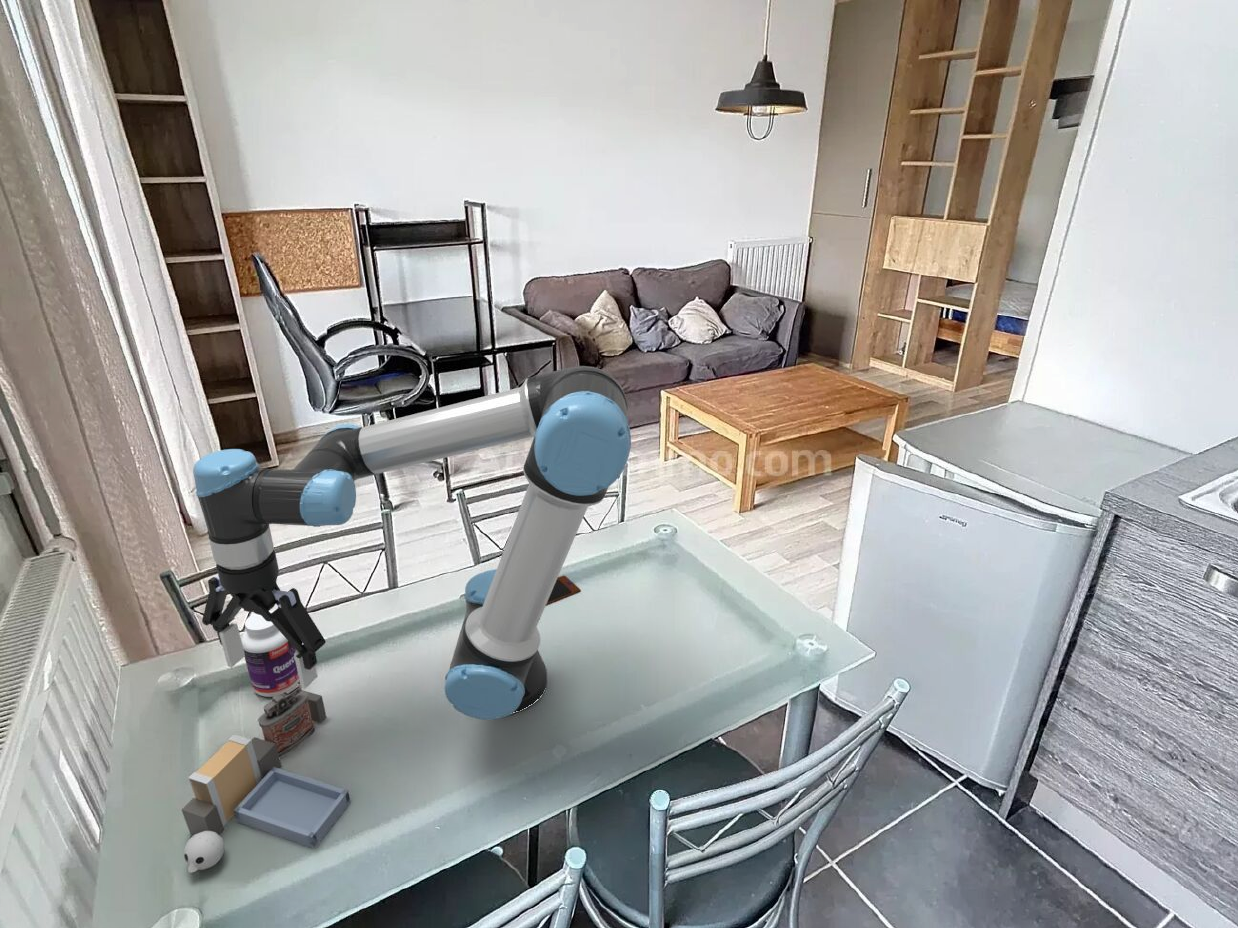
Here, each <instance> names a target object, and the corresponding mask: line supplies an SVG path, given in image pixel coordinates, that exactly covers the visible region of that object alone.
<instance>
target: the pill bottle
mask: <svg viewBox="0 0 1238 928" xmlns="http://www.w3.org/2000/svg"><path fill="white" fill-rule="evenodd" d="M274 611H275V610H274V609H271V610H269V612H270V613H272V612H274ZM244 628H245V631H244V632H243V634H242V635H241V637H240V638H241V641H242V645H243V649H244V653H245V657H244V661H245V663H246V667H247V671H248V672H247V673H248V675H249V680H250V683H251V686H252V690H253V691H254V693H256V694H257V695H259V696H261V697H265V698H266V697H267V698H268V697H269V698H270V697H272V698H273V696H274V695H276V694H282V693H284V692H285V691H286V690H288V689H289V688H291V687H292V686H293V685H295V684H299V683H300V680H299V676H298V671H297V666H296V662H295V657H294V653H295V652H296V651H297V650H296V649H295V648H294V647H293V646H292V644H291V643H290V642H289V641H288V640H287V639H286V638H285V637H284V635H283V634H282V633H281V632H280V631H279V630H278V629H277V628H276V626H275V625H274V624H273V623H272V622H270V621H269V622H268V621H266V620H265V619H264V618H263V617H262V616H261V615H258V614H256V613H253V614H251V615H250V616H248V617H247V618H246V620H245V622H244Z"/></svg>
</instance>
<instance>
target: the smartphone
mask: <svg viewBox="0 0 1238 928" xmlns="http://www.w3.org/2000/svg"><path fill="white" fill-rule="evenodd" d="M581 592H582V591H581V589H580V587H578V585H576V584H575V583H574V582H573V581H572V580H570V579H569V578H568V577H567V576H566V575H561V576H558V578H557V580H556V583H555V585H554V587H553V590H552V592H551V594H550V597H549V599H548V601H547V604H546V606H545V607H547V606H549V605H552V604H555V603H558V602H559V601H562V600H564V599H567V598H569V597H571V596H574V595H577V594H579V593H581Z"/></svg>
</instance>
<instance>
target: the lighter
mask: <svg viewBox="0 0 1238 928" xmlns="http://www.w3.org/2000/svg"><path fill="white" fill-rule="evenodd" d="M302 690H303V689H302V688H301V685H300V683H298V684H295V685H293V686H292V687H291V688H289V689H288V690H286V691H285V692H284V693H282V694H276V695H274V696H273V697H272V698H271V700H270V701H268V702H267V703H266V704H264V705H263V711H264V713H263V714H262V715H260V716H259V718H258V720H257V722H258V725H259V727H260V728H261V731H262V736H263V738H264V739H263V740H266V741H269V742H272V743H275V744H276V747H277V751H278V754H279V758H280V759H281V758H283V756H286V754H289V753H290V752H292V751H293V750H295V749H296V748H298V747H299V746H300V745H302V744H303V743H304V742H305V741H306V740H307V739H308V738H309V737H311V736H312V734H314V732H315V731H316V727H315V722H314V721H312V718H311V713H310V709H309V704H308V695H307V693H306V692H304V691H305V690H303V691H302Z"/></svg>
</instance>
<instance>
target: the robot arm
mask: <svg viewBox="0 0 1238 928" xmlns="http://www.w3.org/2000/svg"><path fill="white" fill-rule="evenodd" d="M622 387H623V386H621V384H620V383H619V381H618V380H617V379H616V378H615V377H614V376H612V375H611V374H610V373H608V372H606V371H605V370H603V369H600V368H598V367H595V366H586V365H577V366H570V367H567V368H563V369H558V370H554V371H550V372H547V373H543V374H538V375H535V376H531V377H527V378H525V380H524V382H523V384H522V385H521V386H520V387H516V388H513V389H512V388H511V389H508V390H504V391H501V392H496V393H492V394H489V395H485V396H481V397H477V398H473V399H468V400H465V401H460V402H457V403H453V404H449V405H445V406H441V407H438V408H433V409H429V410H425V411H422V412H421V411H420V412H417V413H414V414H410V415H405V416H402V417H398V418H394V419H391V420H386V421H383V422H378V423H374V424H370V425H367V426H359V425H354V424H350V423H349V424H348V423H343V424H340V425H337V426H335V427H333V428H332V429H331V430H329V431H327V432H326V434H324V435H323V436H322V437H321V438H320V439H319V440H318V442H317V443H316V444H315V446H314V447H313V448H312V449H311V450H310V451H309V452H308V453H307V455H305V457H303V459H302V460H301V461H299V463H297V465H296V466H295V467H294V468H293V469H287V468H286V469H280V468H279V469H278V468H275V469H274V468H261V467H259V463H258V462H257V459H256V457H255V455H254V454H253V453H252V452H251V451H246V450H244V449H240V448H229V449H228V448H227V449H221V450H217V451H213V452H210V453H208V454H206V455H204V456H202V457H201V458H200V459H198V460H197V461H196V462H195V464H194V466H193V469H192V472H193V477H194V484H195V488H196V491H195V494H196V496H197V497H196V498H198V502H199V505H200V508H201V511H202V514H203V518H204V522H205V525H206V528H207V535H208V540H209V546H210V549H211V554H212V558H213V561H214V562H215V564H216V565H215V567H216V568H215V569H216V570H217V574H215V575H214V576H212V577H211V578H209V579H208V580H207V583H208V590H209V592H208V595H207V599H206V603H205V607H204V612H203V615H202V618H201V621H202V624H203V625H205V626H209V625H210V626H212V629H213V630H214V631H215V632H216V633H217V637H218V641H219V644H220V645H221V646H222V650H223V654H224V656H225V661H226V664H227V666H228V667H229V668H233V667H234V666H235V665H237V663H239V662H240V661H241V660H243V659H244V658H245V653H244V649H243V645H242V641H241V638H242V637H241V634H240V631H239V627H238V623H237V622H233V621H234V620H235V619H236V618H235V617H236V616H237V615H238V613H239V612H240V611H241V610H242V609H243V611H244V612H246V613H253V614H255V613H256V614H258V615H261V616H262V617H263V618H264V619H265V620H266V621H268V622H269V621H270V622H272V623H273V624H274V625H275V626H276V628H277V629H278V630H279V631H280V632H281V633H282V634H283V635H284V637H285V638H286V639H287V640H288V641H289V642H290V643H291V644H292V646H293V647H294V648H295V649H296V652H295V653H294V657H295V662H296V666H297V671H298V676H299V680H300V681H299V685H300V686H301V689H302V688H303V689H306V688H307V687H308V686H310V684H312V682H313V681H315V680H316V678H318V674H317V667H316V665H317V664H318V660H317V654H316V653H317V651H319V650H320V649H321V648H322V647H323V646H324V645H325V644H326V642H327V641H326V639H325V638H324V636H323V635H322V633H321V631H320V630H319V628H318V627H317V625H316V624H315V622H314V620H313V618H312V617H311V615H310V614H309V612H308V610H307V609H306V607H305V605H304V604H303V603H302V600H301V597H300V595H299V592H298V590H297V588H294V587H292V588H290V589H289V590H288V591H286V590H281V588H280V587H279V586H278V584H277V579H278V576H279V573H280V570H279V569H280V568H279V563H278V560H277V559H278V558H277V554H276V551H275V550H274V541H273V537H272V533H271V532H272V531H271V527H270V525H285V526H286V525H287V526H307V527H309V526H310V527H314V528H315V527H316V528H318V527H319V528H320V527H326V526H342V525H344V524H346V523H347V522H348V521H349V520H350V519H351V518H352V516H353V514H354V508H355V507H356V503H357V488H356V483H355V481H356V480H359V479H364V478H367V477H372V476H375V475H379V474H383V473H386V472H391V471H395V470H399V469H403V468H408V467H411V466H415V465H420V464H425V463H428V462H429V463H430V462H432V461H437V460H442V459H445V458H446V459H447V458H450V457H454V456H458V455H461V454H462V455H463V454H465V453H469V452H474V451H478V450H482V449H488V448H492V447H495V446H500V445H502V444H503V445H504V444H507V443H511V442H515V441H519V440H520V441H521V440H524V439H529V438H533V440H532V443H531V444H530V445H531V446H530V448H529V450H528V453H527V455H526V459H525V461H524V465H523V468H522V472H523V475H524V477H525V479H526V481H527V482H528V486H527V488H526V491H525V493H524V497H523V499H522V502H521V505H520V506H519V510H518V512H517V514H516V518H515V520H514V522H513V525H512V528H511V530H510V534H509V536H508V538H507V541H506V543H505V547H504V549H503V551H502V555H501V557H500V559H499V563H498V565H497V568H495V569H490V570H486V571H484V572H481V573H477V574H475V575H474V576H472V577H471V578H470V579H469V580H468V581H467V583H466V585H465V589H464V591H465V592H464V595H463V596H464V599H465V604H466V605H465V615H464V618H463V621H462V625H461V628H460V631H459V635H458V638H457V642H456V645H455V648H454V651H453V655H452V658H451V661H450V662H451V663H450V664H449V669H448V670H447V672H446V674H445V679H444V680H445V684H444V694H445V697H446V699H447V701H448V702H449V704H451V705H452V706H453V708H454V709H455V710H457V711H458V712H460V714H463V715H465V716H467V717H469V718H473V719H478V720H482V721H483V720H484V721H485V720H487V721H489V720H490V721H491V720H497V719H498V718H506V717H508V716H510V715H512V714H511V713H513V712H516V711H520V710H522V709H524V708H526V707H528V706H529V705H531V704H533V703H534V702H535V701H536V700H537V699H539V698H540V696H541V695H542V694H543V692H544V690H545V691H546V689H547V686H546V685H548V673H547V667H546V664H545V663H544V660H543V658H542V656H541V653H540V651H539V647H540V645H541V634H540V631H539V629H538V627H537V626H538V625H539V622H540V620H541V617H542V615H543V612H544V610H545V608H546V607H547V606H546V604H547V601H548V599H549V597H550V594H551V592H552V590H553V587H554V585H555V583H556V580H557V578H558V577H560V573H561V570H562V568H563V567H564V566H563V565H564V563H565V562H566V559H567V556H568V554H569V552H570V549H571V547H572V545H573V542H574V539H575V538H576V535H577V533H578V530H579V528H580V526H581V524H582V521H583V520H584V516H585V514H586V512H587V510H588V507H591V506H595V505H597V504H599V503H601V502H602V501H603V500H604V498H605V497H606V496H605V495H606V494H607V492H608V491H609V490H608V489H609V487H610V486H612V485H613V484H614V483H615V482H616V481H617V480H618V478H619V477H620V476H621V475H622V473H623V471H624V470H625V467H626V465H627V462H628V460H629V457H630V452H631V448H632V447H631V445H632V440H631V439H632V438H631V437H632V436H631V429H630V425H629V422H628V421H629V419H628V402H627V398H626V397H627V396H626V394H625V392H624V391H625V390H624V389H623V388H622ZM228 594H229V595H230V596H231V599H230V601H229V602H227V604H226V606H225V603H226V599H227V596H228ZM224 606H225V609H224ZM275 606H277V608H275V610H274V612H272V613H270V612H269V610H273V609H274V607H275ZM223 609H224V610H223ZM231 622H232V623H231ZM545 688H546V689H545ZM544 693H545V692H544ZM543 695H544V694H543ZM543 695H542V696H543ZM540 699H541V698H540ZM540 699H539V700H540ZM533 705H534V704H533ZM520 712H521V711H520ZM513 714H514V713H513Z"/></svg>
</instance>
